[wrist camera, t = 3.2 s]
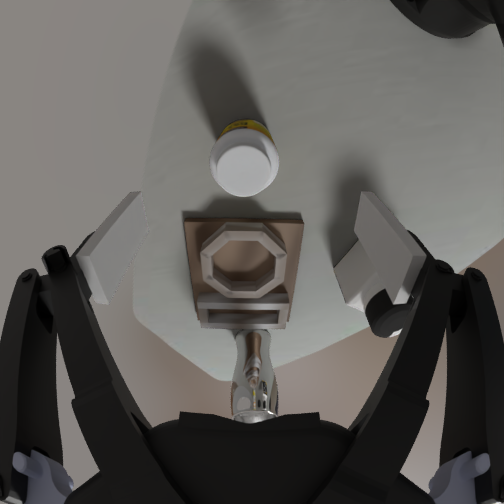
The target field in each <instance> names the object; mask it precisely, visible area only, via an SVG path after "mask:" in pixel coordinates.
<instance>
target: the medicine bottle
mask: <svg viewBox="0 0 504 504" xmlns="http://www.w3.org/2000/svg"><path fill="white" fill-rule="evenodd" d="M334 273H335V275H336V278H337V280H338V283H339V286H340V288H341V291H342V294H343V296H344V299H345V302H346V304H347V305H349V306H351V307H353V308H355V309H358V310H360V311H362V312H364V313H365V314H366V317H367V320H368V322H369V325H370V327H371V330H372V332H373V333H374V334H375V335H376V336H379V337H383V338H387V337H392V336H395V335H398V334H400V332H401V330H402V328H403V325H404V323H405V320H406V318H407V317H406V315H407V313H408V311H409V309H410V307H411V305H412V303H413V301H414V298H413V297H412V295H411V294H410V296H409V299H408V301H407V303H403V304H393V303H392V301H391V299H390V297H389V295H388V293H387V291H386V289H385V287H384V285H383V283H382V281H381V279H380V277H379V275H378V273H377V271H376V269H375V268H374V266H373V264H372V262H371V260H370V258H369V257H368V255H367V253H366V251H365V249H364V248H363V246H362V244H361V242H360V241H359V240H358V241H357V242H356V243H355V245H354V246H353V247H352V248H351V249H350V250H349V252H348V253H347V254H346V255H345V256H344V257H343V258H342V260H341V261H340V262H339V263H338V264H337V265H336V266H335V267H334Z"/></svg>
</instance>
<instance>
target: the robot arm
mask: <svg viewBox="0 0 504 504" xmlns="http://www.w3.org/2000/svg"><path fill="white" fill-rule="evenodd" d="M391 2H392V3H393V4H394V5H395V6H396V7H397V8H398V9H399V10H400V12H401V13H403V14H404V15H405V16H406V17H407V18H408V19H409V20H410V21H412V22H413V23H414V24H415V25H417V26H418V27H420V28H421V29H423V30H425V31H426V32H428V33H430V34H433V35H435V36H438V37H441V38H448V39H451V38H464V37H468V36H470V35H472V34H473V33H474V32H475V31H477V30H479V29H481V28H483V27H485V26H487V25H489V24H496V26H497V29H498V31H499V34H500V37H501V41H502V43H503V47H504V0H391ZM148 232H149V228H148V223H147V218H146V213H145V208H144V203H143V198H142V192H141V191H139V192H130V193H129V194H128V195H127V196H126V197H125V198H124V199H123V201H122V202H121V203H120V204H119V205H118V206H117V207H116V208H115V209H114V210H113V212H112V213H111V214H110V215H109V216H108V217H107V218H106V220H105V221H104V222H103V223H102V224H101V225H100V226H99V228H98V229H97V230H96V231H94V232H93V233H91V234H90V235H88V236H87V237H86V238H85V240H84V241H83V242H82V244H81V245H80V246H79V248H77V250H76V251H75V252H74V253H73V255H72V256H71V257H69V254H68V252H67V249H66V247H65V246H63V245H58V246H55V247H52V248H50V249H49V250H47V251H46V252H45V253H44V255H43V256H42V261H43V263H44V266H45V267H46V270H47V272H48V275H43V276H39V274H38V272H37V270H36V269H28V270H25V271H24V272H23V273H22V274H21V275H20V276H19V277H18V279H17V282H16V285H15V288H14V291H13V294H12V297H11V301H10V304H9V307H8V311H7V315H6V319H5V323H4V327H3V331H2V336H1V341H0V501H3V502H5V503H8V504H500V503H503V502H504V342H503V337H502V333H501V328H500V324H499V320H498V316H497V312H496V308H495V305H494V301H493V298H492V294H491V291H490V288H489V285H488V282H487V279H486V277H485V276H484V274H483V273H482V272H481V271H480V270H478V269H475V268H471V267H470V268H467V269H466V271H465V273H464V275H460V274H456V273H454V270H453V268H452V267H451V266H450V265H449V264H448V263H446V262H444V261H441V260H436V259H434V257H433V256H432V255H431V254H430V252H429V251H428V250H427V248H426V247H424V245H423V243H422V242H421V241H420V240H419V239H418V237H417V236H416V235H415V234H413V233H412V232H410V231H409V230H406V229H405V228H404V227H403V225H402V224H401V223H400V222H399V221H398V220H397V218H396V217H395V216H394V215H393V214H392V213H391V212H390V210H389V209H388V208H387V207H386V206H385V205H384V204H383V203H382V202H381V200H380V199H379V198H378V197H377V196H376V195H375V194H374V193H373V192H368V191H361V195H360V201H359V206H358V212H357V217H356V222H355V227H354V232H355V234H356V235H357V237H358V239H359V241H360V242H361V244H362V246H363V248H364V249H365V251H366V253H367V255H368V257H369V258H370V260H371V262H372V264H373V266H374V268H375V269H376V271H377V273H378V275H379V277H380V279H381V281H382V283H383V285H384V287H385V289H386V291H387V293H388V295H389V297H390V299H391V301H392V303H393V304H403V303H407V301H408V299H409V296H410V294H412V296H413V298H414V301H413V303H412V305H411V307H410V309H409V311H408V313H407V315H406V317H407V318H406V320H405V323H404V325H403V328H402V330H401V332H400V335H399V337H398V339H397V342H396V344H395V346H394V348H393V351H392V353H391V355H390V357H389V359H388V361H387V364H386V366H385V367H384V369H383V371H382V373H381V375H380V377H379V379H378V381H377V383H376V385H375V387H374V389H373V390H372V392H371V394H370V396H369V397H368V399H367V401H366V403H365V404H364V406H363V408H362V409H361V411H360V413H359V414H358V416H357V417H356V419H355V420H354V421H353V423H352V424H351V426H350V427H349V428H348V429H346V428H344V427H342V426H340V425H338V424H336V423H333V422H329V421H324V420H320V416H319V412H316V413H315V412H314V413H302V414H287V415H283V416H279V417H275V418H271V419H267V420H263V421H259V422H255V423H244V422H240V421H236V420H232V419H228V418H225V417H221V416H217V415H214V414H202V413H190V412H180V415H179V419H177V420H172V421H168V422H165V423H162V424H159V425H157V426H156V427H154V428H152V426H151V425H150V423H149V422H148V421H147V420H146V418H145V417H144V415H143V414H142V412H141V410H140V409H139V407H138V405H137V403H136V402H135V400H134V398H133V396H132V394H131V393H130V391H129V389H128V387H127V385H126V383H125V381H124V379H123V378H122V376H121V373H120V371H119V369H118V367H117V365H116V363H115V361H114V359H113V357H112V355H111V353H110V350H109V348H108V346H107V343H106V341H105V339H104V336H103V334H102V332H101V329H100V327H99V324H98V322H97V319H96V316H95V314H94V311H93V309H92V306H91V304H90V302H89V298H90V297H91V295H93V297H94V299H95V302H96V303H100V304H110V302H111V300H112V298H113V296H114V294H115V292H116V290H117V288H118V286H119V284H120V282H121V280H122V278H123V276H124V275H125V272H126V271H127V269H128V267H129V265H130V263H131V262H132V260H133V258H134V256H135V254H136V253H137V251H138V249H139V247H140V246H141V244H142V242H143V240H144V239H145V237H146V235H147V234H148ZM445 328H446V338H447V390H446V407H445V417H444V425H443V433H442V440H441V448H440V463H439V469H438V470H437V471H436V473H435V475H434V477H433V478H432V479H431V480H430V482H429V489H430V493H429V494H427V493H426V492H425V491H423V490H422V489H421V488H419V487H418V486H417V485H415V484H414V483H413V482H411V481H410V480H409V479H408V478H406V477H405V476H404V475H402V474H401V473H400V470H401V468H402V466H403V465H404V463H405V461H406V459H407V457H408V455H409V453H410V451H411V448H412V446H413V444H414V442H415V440H416V438H417V435H418V433H419V431H420V428H421V426H422V424H423V421H424V418H425V416H426V413H427V410H428V407H429V401H428V400H426V395H427V392H428V389H429V386H430V384H431V381H432V377H433V374H434V371H435V367H436V364H437V361H438V357H439V353H440V350H441V346H442V342H443V337H444V332H445ZM57 333H58V337H59V342H60V346H61V350H62V354H63V358H64V362H65V365H66V369H67V372H68V376H69V379H70V382H71V385H72V388H73V391H74V394H75V399H73V400H72V402H71V404H72V408H73V411H74V413H75V416H76V419H77V421H78V424H79V427H80V429H81V431H82V434H83V436H84V438H85V441H86V443H87V445H88V447H89V449H90V452H91V454H92V456H93V458H94V460H95V462H96V464H97V466H98V468H99V470H100V471H99V472H98V473H97V474H96V475H94V476H93V477H92V478H90V479H89V480H88V481H86V482H85V483H84V484H83V485H81V486H80V487H79V488H77V489H76V490H74V491H73V492H72V488H73V480H72V479H71V477H70V476H68V474H67V472H66V470H65V469H64V467H63V451H62V444H61V443H62V442H61V435H60V427H59V418H58V407H57V390H56V344H57Z"/></svg>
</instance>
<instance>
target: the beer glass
mask: <svg viewBox="0 0 504 504" xmlns="http://www.w3.org/2000/svg"><path fill="white" fill-rule="evenodd" d="M235 341H236V346H237V361H236V366H235V370H234V374H233V378H232V384H231V415H232V417H231V419H232V420H236V421H240V422H244V423H255V422H259V421H263V420H267V419H271V418H275V417H278V388H277V382H276V377H275V373H274V370H273V366H272V363H271V359H270V344H271V336H270V334H269V333H268V332H267V331H265V330H263V329H244V330H242V331H240V332H239V333H238V334H237V335H236V338H235Z"/></svg>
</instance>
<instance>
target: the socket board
mask: <svg viewBox="0 0 504 504" xmlns="http://www.w3.org/2000/svg"><path fill="white" fill-rule="evenodd" d="M184 225H185V233H186V242H187V250H188V258H189V265H190V273H191V280H192V286H193V293H194V299H195V306H196V312H197V318H198V320H200V324H201V328H218V329H285V327H286V322H289V317H290V311H291V306H292V300H293V294H294V288H295V282H296V276H297V270H298V263H299V257H300V250H301V243H302V236H303V229H304V222H303V220H291V219H247V218H186V219H185V221H184Z"/></svg>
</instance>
